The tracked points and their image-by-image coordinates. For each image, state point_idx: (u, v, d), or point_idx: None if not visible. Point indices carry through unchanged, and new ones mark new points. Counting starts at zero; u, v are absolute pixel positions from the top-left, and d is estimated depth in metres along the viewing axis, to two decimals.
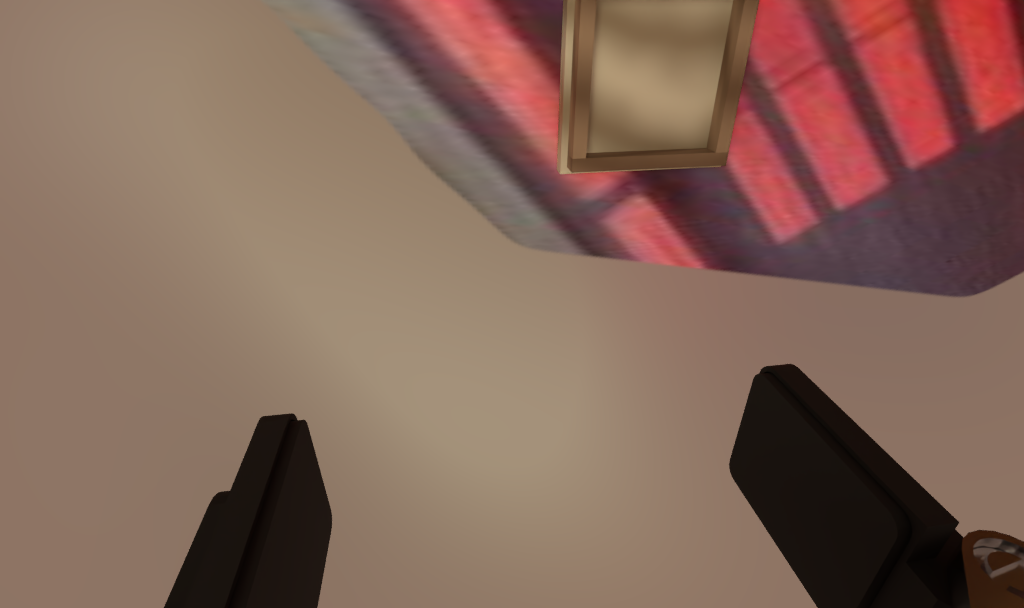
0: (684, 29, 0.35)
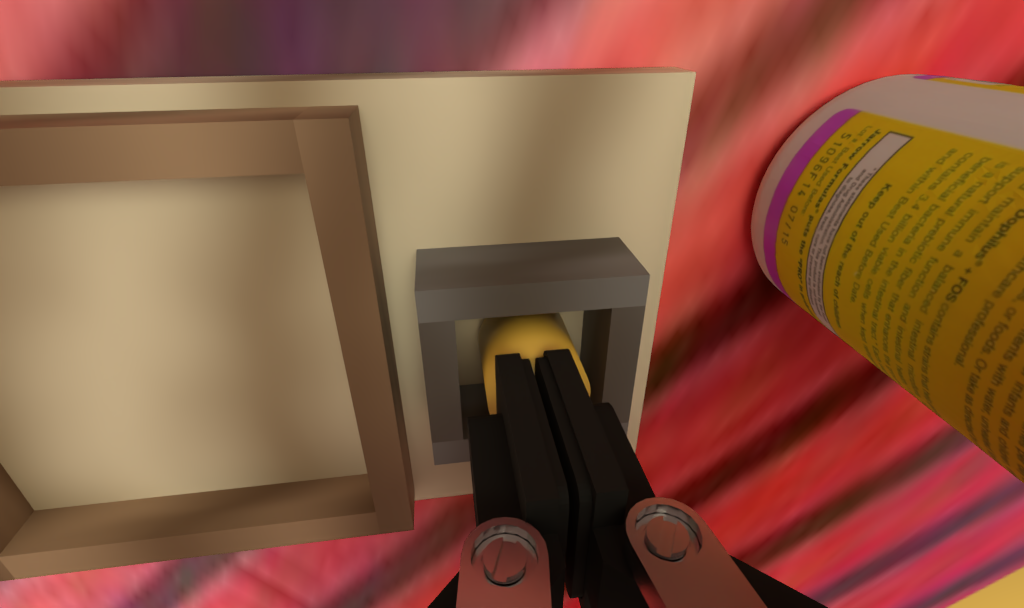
0: (297, 400, 0.14)
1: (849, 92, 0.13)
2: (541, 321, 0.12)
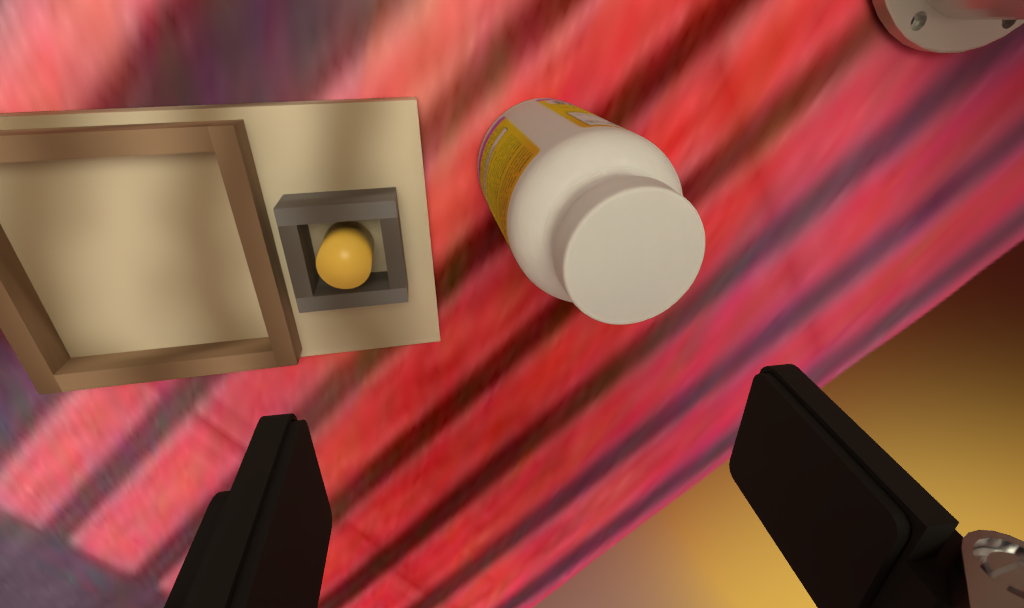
0: (224, 286, 0.26)
1: (510, 108, 0.25)
2: (349, 229, 0.24)
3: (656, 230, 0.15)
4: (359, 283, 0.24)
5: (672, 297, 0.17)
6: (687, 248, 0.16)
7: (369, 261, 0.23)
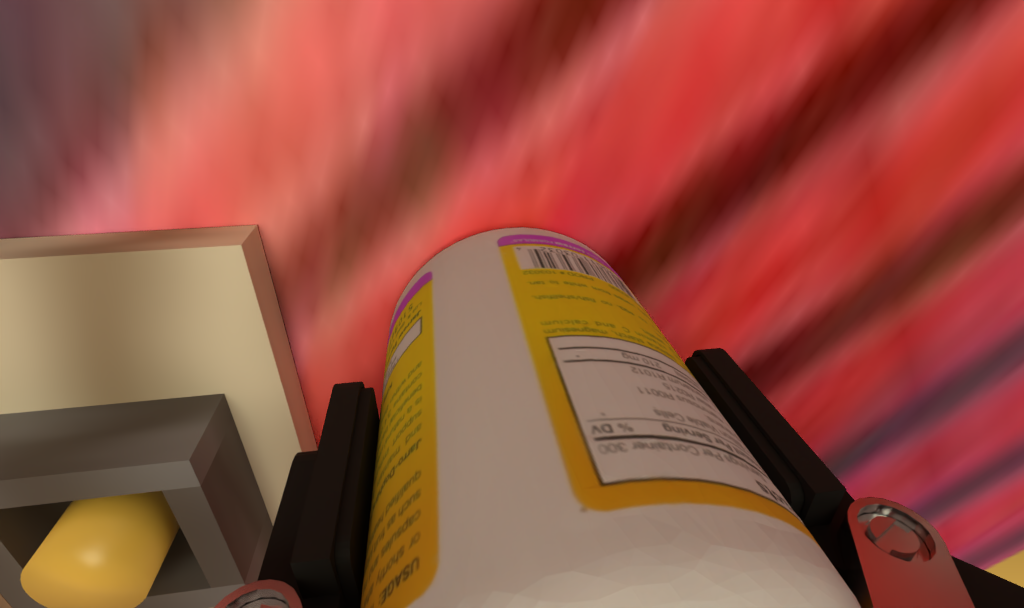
0: None
1: (448, 248, 0.12)
2: None
3: None
4: (129, 606, 0.12)
5: None
6: None
7: (141, 574, 0.11)
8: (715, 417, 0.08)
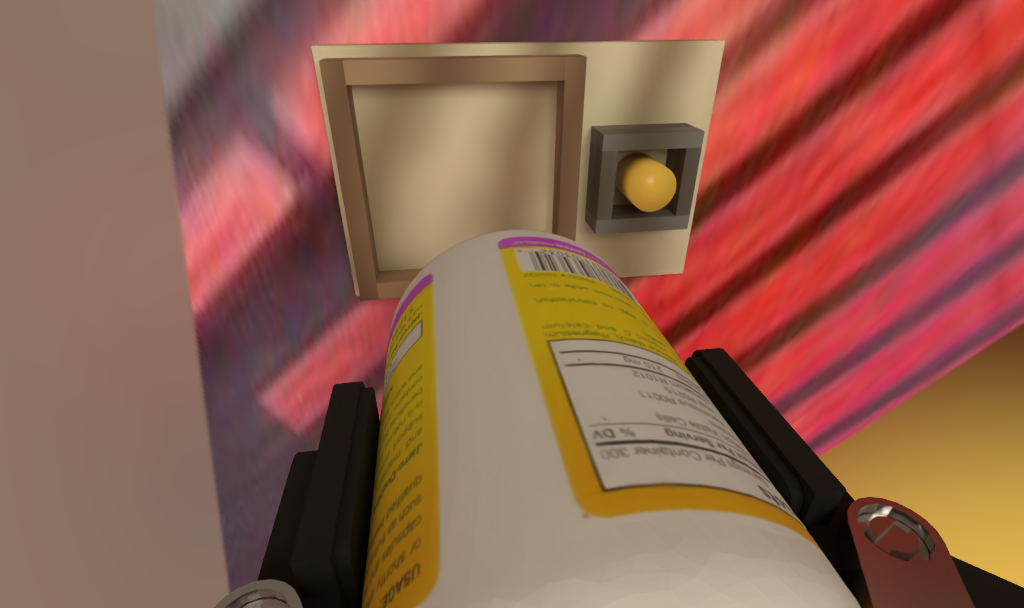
0: (520, 210, 0.29)
1: (449, 250, 0.12)
2: (651, 158, 0.27)
3: None
4: (660, 207, 0.26)
5: None
6: None
7: (675, 186, 0.26)
8: (717, 421, 0.08)
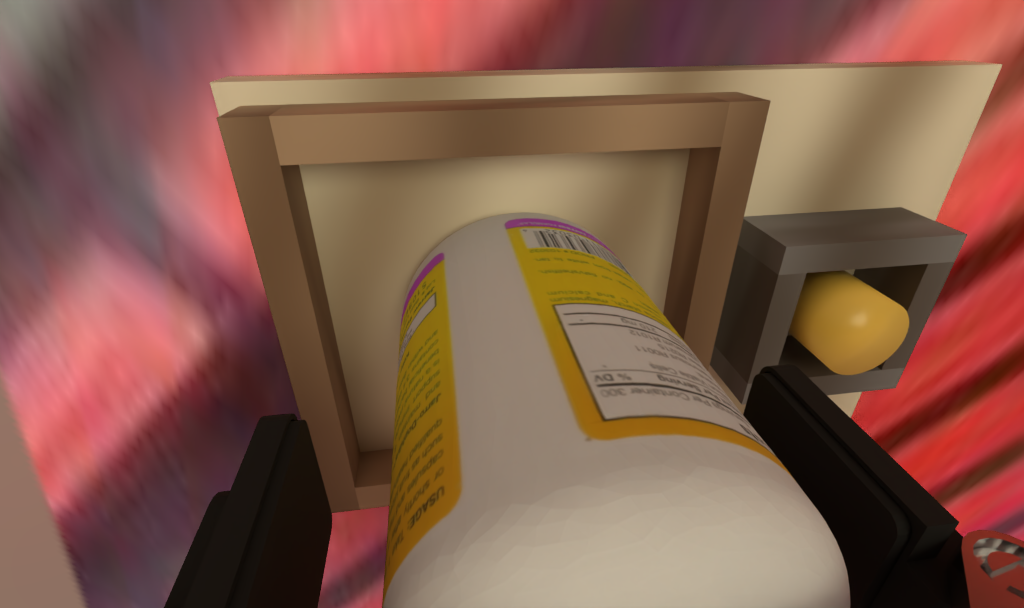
0: None
1: (458, 231, 0.13)
2: (850, 276, 0.15)
3: None
4: (871, 366, 0.14)
5: None
6: None
7: (904, 333, 0.14)
8: (705, 374, 0.08)
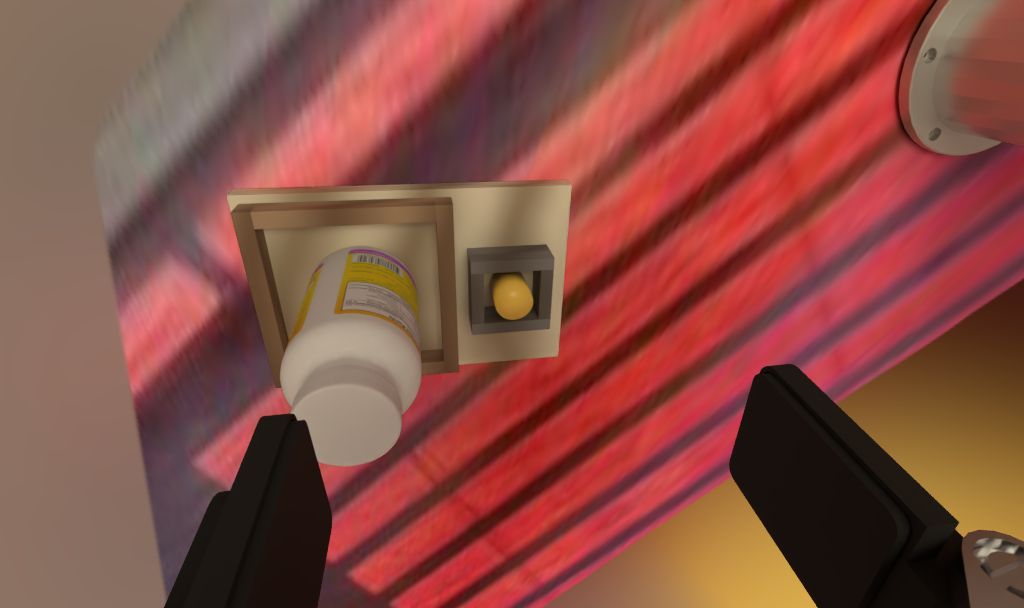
0: None
1: (331, 254, 0.31)
2: (515, 275, 0.33)
3: (356, 410, 0.22)
4: (522, 316, 0.32)
5: (383, 449, 0.23)
6: (385, 419, 0.22)
7: (532, 300, 0.32)
8: (393, 304, 0.26)
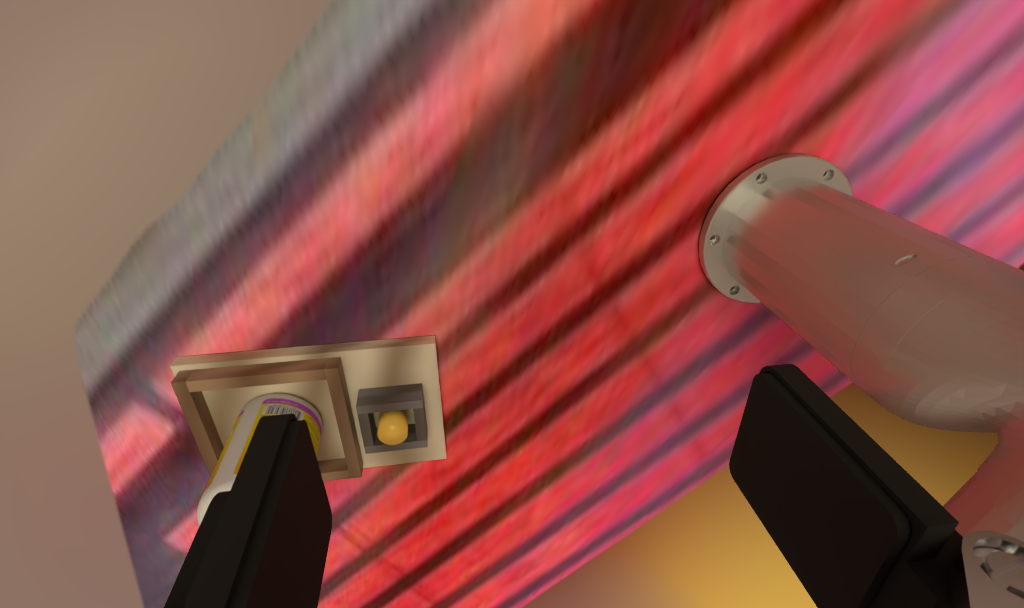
0: (322, 433, 0.44)
1: (251, 401, 0.41)
2: None
3: None
4: (400, 442, 0.42)
5: None
6: None
7: (406, 431, 0.42)
8: None
